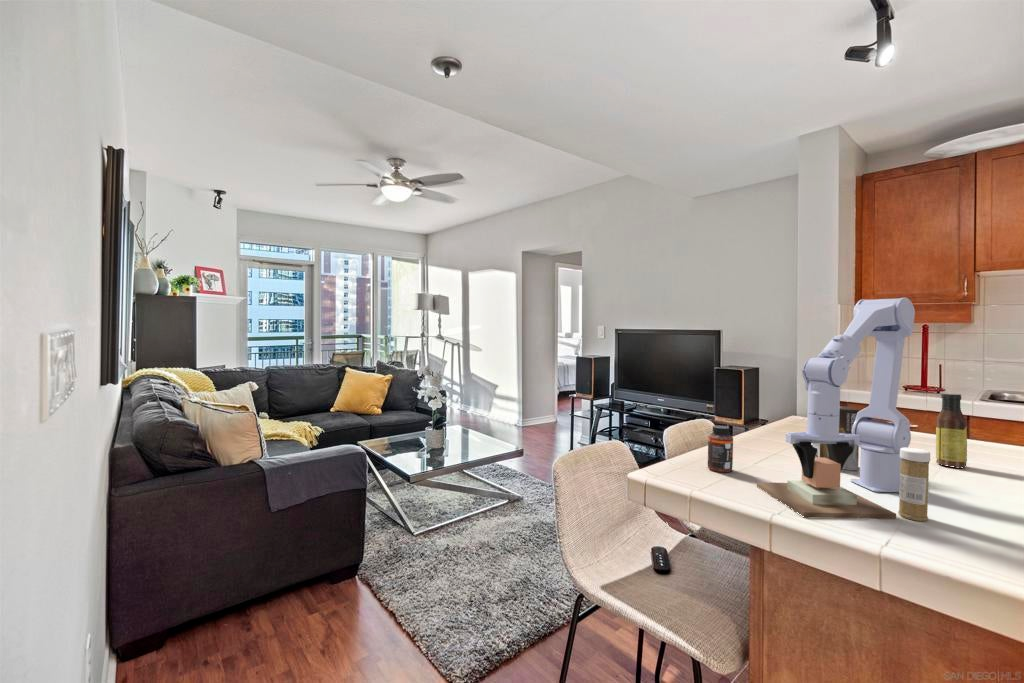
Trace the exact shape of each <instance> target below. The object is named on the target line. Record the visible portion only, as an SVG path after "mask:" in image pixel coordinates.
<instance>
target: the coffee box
mask: <svg viewBox="0 0 1024 683" xmlns="http://www.w3.org/2000/svg"><path fill="white" fill-rule="evenodd" d="M859 411H860V409H857V408H855V407H851V406H843V405H840V413H839V433H844V434H852V426H853V424H854V422H855V419H856V415H857V412H859ZM816 441H818V440H816ZM812 445H813V447H814V448H817V449H818V450H817V453H816V456H815V457H821V458H827V459H829V454H828V448H827V444H818V443H812ZM849 446H852V447H853V452H852V453H851V455H850V456H849V457H848V459H847V460H846V462H845V464H844V466H843V468H842V470H845V469H847V470H849V471H859V462H860V461H859V460H860V458H859V457H860V456H859V454H860V452H859V450H860V449H859V448H860V447H858V445H854V444H849ZM847 470H846V471H847Z"/></svg>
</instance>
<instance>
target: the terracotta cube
mask: <svg viewBox="0 0 1024 683" xmlns="http://www.w3.org/2000/svg"><path fill="white" fill-rule="evenodd" d="M840 472H841V473H842V471H841V464H839V463H837V462H835V461H832V460H830V459H827V458H821V457H815V460H814V472H813V477H812V478H807V477H805V476H804V475H803V470H802V469H801V481H805V482H807V483H808V484H810V485H812V486H814V487H816V488H840V487H841V474H840Z"/></svg>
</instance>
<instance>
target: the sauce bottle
mask: <svg viewBox="0 0 1024 683" xmlns="http://www.w3.org/2000/svg"><path fill="white" fill-rule="evenodd" d="M940 398H941V400H942V401H941V411H940V412H939V413H938V414H937V416H936V427H935V458H936V464H937V463H939V464H942V465H948V466H954V467H965V466H966V467H967V462H968V434H967V433H968V425H967V422H966V419H965V417H964V415H963V412H962V409H961V400H962V394H960V393H953V392H942V393H941V394H940ZM939 464H938V465H939ZM966 467H965V468H966Z"/></svg>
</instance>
